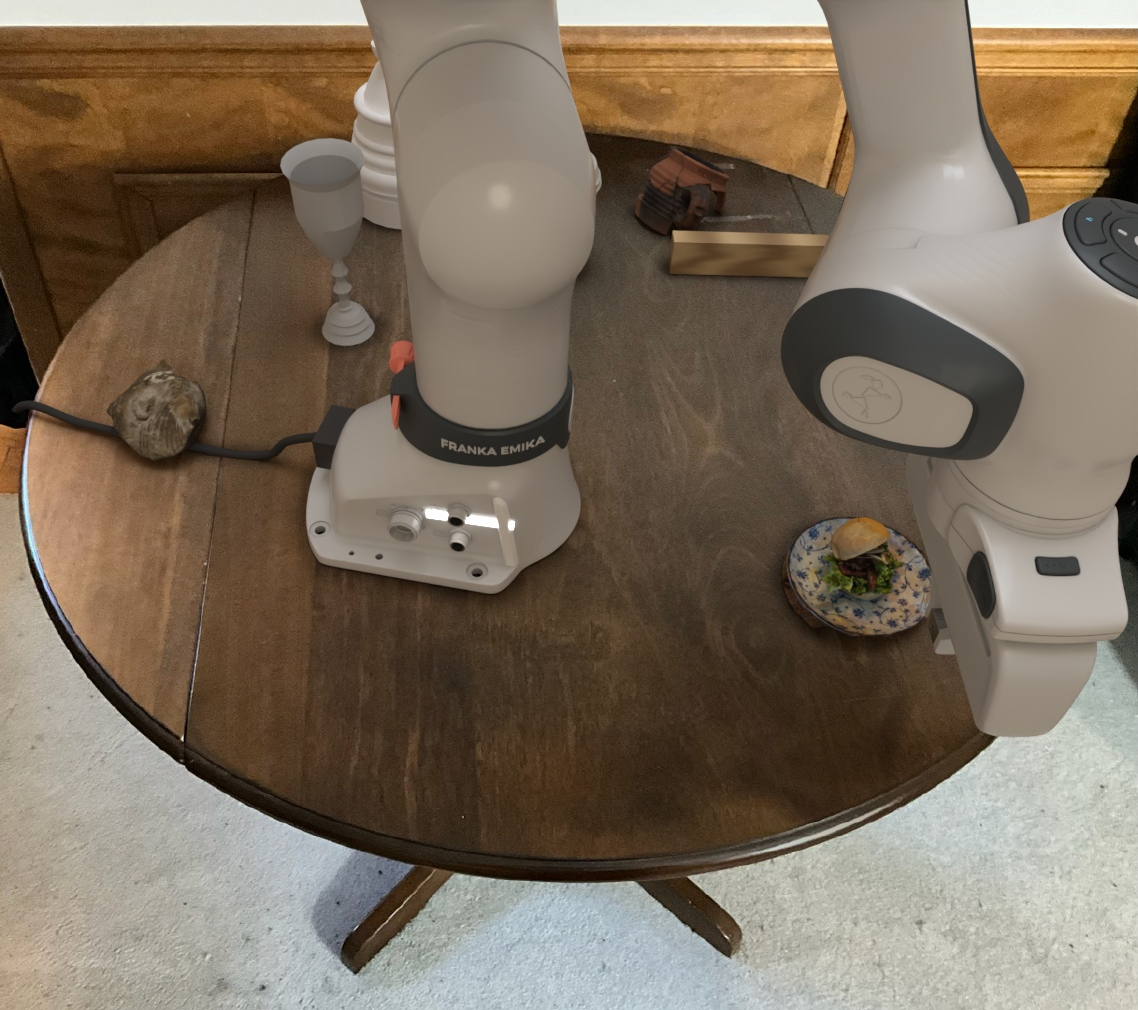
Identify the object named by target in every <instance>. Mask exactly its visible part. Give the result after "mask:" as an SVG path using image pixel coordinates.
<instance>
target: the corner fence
mask: <svg viewBox="0 0 1138 1010" xmlns="http://www.w3.org/2000/svg"><path fill="white" fill-rule="evenodd" d="M829 236H830V234H817V233H816V234H814V233H813V234H812V233H777V232H776V233H775V232H745V231H744V232H742V231H741V232H739V231H738V232H737V231H706V230H703V231H702V230H698V231H697V230H691V231H680V230H672V231H671V238H670V247H669V254H668V262H667V263H668V270H669V275H697V276H698V275H700V276H703V275H704V276H735V277H737V276H739V277H770V278H771V277H772V278H773V277H774V278H775V277H776V278H778V277H779V278H780V277H781V278H809V276H810V274H811V272H812V270H813V268H814V266H815V265H816V263H817V261H818V259H819V257H820V255H821V252H822V250H823V248H824V246H825V244H826V242H827V240H828V238H829Z"/></svg>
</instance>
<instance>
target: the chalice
mask: <svg viewBox="0 0 1138 1010" xmlns="http://www.w3.org/2000/svg"><path fill="white" fill-rule="evenodd" d="M363 163H364V155H363V153H362V151H361V149H360V148H359V147H357V146H356V145H355V144H353V143H351V141H348V140H346V139H341V138H340V139H339V138H332V137H329V138H316V139H312V140H307V141H303V142H302V143H299V144H296V145H294V146H293V147H292V148H290V149H288V151H286V152H285V154H284V155H283V156H282V157H281V160H280V167H279V168H280V169H281V172H282V174H283V176H285V178H286V179H287V180H288V182H289V186H290V192H291V193H290V194H291V198H292V203H293V209H294V213H295V218H296V221H297V222H298V224H299V226H300V227H301V230H302V231H303V232H304V234H305V236H306V238H307V239H309V241H310V242H311V244H312V245H313V246H314V247H315V248H316V249H317V251H318V252H319V253H320V255H321V256H323V257H324V258H326V259H330V260H332V269H331V270H330V275H332V276H333V277H334V279H335V284H334V285H333V286H332V291H333V292H334V293H335V294H337V297H338V301H337V302H335V303H334V304H332V305H331V306H330V308H329V309H328V310H327V312H326V317H325V319H324V323H323V325H322V327H321V333H322V336H323V338H324V339H325V340H326V341H327V342H328V343H331V344H333V345H336V346H341V347H348V346H349V347H350V346H355V345H360V344H362V343H364V342H366V341H367V340H368V339H370V338H371V337H372V336H373V334H374V332H375V328H376V327H375V326H376V325H375V323H374V321H373V319H372V318H371V317H370V315H369V313H368V312H367V311H366V309H365V308H364V307H363V305H361V304H360V303H358V302H356V301H353V300H350V298H349V293H350V292H351V291H352V289H353V288H352V284H350V283H349V282H348V281H347V276H348V274H349V269H348V267H347V266H346V265H345V262H344V258H345V257H347V256H348V255H350V254H351V252H352V251H353V248H354V245H355V242H356V240H357V238H358V235H359V234H360V230H361V226H362V222H363V218H364V217H363V214H364V199H363V191H362V183H361V175H360V171H361V168H362V166H363Z"/></svg>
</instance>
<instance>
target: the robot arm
mask: <svg viewBox="0 0 1138 1010" xmlns="http://www.w3.org/2000/svg"><path fill="white" fill-rule="evenodd" d="M359 1H360V4H361V7H362V10H363V13H364V16H365V19H366V22H367V26H368V28H369V31H370V35H371V38H372V40H373V41H374V44H375V47H376V51H377V54H378V57H379V61H380V64H381V68H382V71H383V75H384V80H385V85H386V90H387V96H388V102H389V110H390V117H391V125H392V134H393V143H394V155H395V167H396V179H397V191H398V202H399V211H400V221H401V229H400V230H401V238H402V248H403V255H404V256H403V257H404V258H403V259H404V268H405V276H406V285H407V286H406V287H407V297H408V305H409V316H410V318H409V319H410V326H411V327H410V328H411V336H412V337H411V339H412V342H410V341H408V340H397V341H395V342H394V343H393V344H392V345H391V347H390V358H389V360H388V367H389V369H390V370H391V371H392V372H393V373H394V375H393V376H392V378H391V381H390V387H389V394H386V395H385V396H383V397H380V398H378V399H375V400H374V401H371V402H369V403H367V404H364V405H362V406H360V407H359V408H357V409H355V408H353V407H347V406H342V405H337V404H331V405H330V407H329V409H328V411H327V412H326V414H325V416H324V418H323V420H322V421H321V423H320V425H319V427H318V429H317V430H316V431H313V432H303V433H297V434H292V435H287V436H286V437H284V438H281V439H280V440H278V441H277V442H276V443H275V445H274V446H273V447H271V448H270V449H264V450H238V449H230V448H226V447H225V448H224V447H219V446H215V445H214V446H213V445H209V444H205V443H200V442H196V441H194V442H193V443H191V445H190V446H188V447H187V448H185V449H184V450H187V451H191V452H195V453H200V454H205V455H210V456H213V457H214V456H215V457H222V458H229V459H237V460H248V461H250V460H251V461H265V460H271V459H274V458H276V457H278V456H279V455H280V454H281V453H282V452H283V451H284V450H285V449H286V448H287V447H290V446H293V445H297V444H305V443H311V445H312V449H313V453H314V459H315V463H316V467H315V469H314V472H313V474H312V478H311V480H310V484H309V488H308V493H307V498H306V499H307V500H306V507H305V525H306V536H307V540H308V544H309V546H310V549H311V552H312V553H313V555H314V557H315V558H316V560H317V561H318V562H319V563H320V564H322V565H326V566H329V567H333V568H334V567H335V568H339V569H344V570H345V569H346V570H351V571H357V572H363V573H368V574H374V575H380V576H384V577H385V576H386V577H392V578H397V579H402V580H408V581H413V582H419V583H425V584H430V585H437V586H442V587H447V588H454V589H459V590H466V591H471V592H476V593H482V594H489V595H492V594H498V593H500V592H502V591H503V590H505V589H506V588H508V586H510V584H511V583H512V582H513V581H514V580H515V579H516V577H517V576H518V575H519V574H520V573H521V571H523V570H524V569H526V568H528V567H529V566H530V565H532V564H534V563H537V562H539V561H540V560H542V559H545V558H546V557H547V556H549V555H551V554H552V553H554V552H555V551H557V549H559V548H560V547H561V546H562V545H563V544H564V543H565V542H566V541H567V540H568V539H569V537H570V536H571V535H572V533H573V531H574V530H575V528H576V526H577V524H578V520H579V519H580V514H581V506H582V501H581V500H582V498H581V492H580V488H579V486H578V483H577V480H576V478H575V476H574V473H573V468H572V464H571V459H570V449H569V440H570V436H571V432H572V429H573V420H574V402H575V387H574V383H573V373H572V369H571V366H570V364H569V352H570V335H571V334H570V333H571V332H570V331H571V314H572V304H573V303H572V302H573V294H574V289H575V285H576V281H577V278H578V276H579V275H580V273H581V272H582V271H583V269H584V267H585V265H586V264H587V262H588V260H589V258H590V255H591V252H592V249H593V246H594V241H595V229H596V213H597V211H596V210H597V195H596V180H595V168H594V163H593V159H592V156H591V153H592V152H591V150H590V147H589V143H588V140H587V137H586V134H585V130H584V127H583V124H582V121H581V117H580V115H579V111H578V109H577V104H576V100H575V97H574V94H573V90H572V87H571V82H570V78H569V74H568V70H567V66H566V62H565V57H564V52H563V47H562V40H561V34H560V33H561V32H560V24H559V13H558V1H557V0H359ZM816 2H817V3H818V5H819V7H820V9H821V10H822V12H823V16H824V18H825V21H826V24H827V28H828V31H829V35H830V36H829V37H830V39H831V44H832V49H833V55H834V58H835V63H836V66H837V71H838V75H839V80H840V84H841V89H842V93H843V98H844V103H845V107H846V111H847V116H848V119H849V124H850V129H851V134H852V137H853V138H852V139H853V144H854V146H853V147H854V154H853V155H854V156H853V163H852V171H851V174H850V179H849V182H848V185H847V187H846V191H845V194H844V196H843V199H842V203H841V205H840V209H839V212H838V215H837V218H836V220H835V223H834V225H833V227H832V229H831V232H830V234H829V235H830V236H829V238H828V240H827V242H826V244H825V246H824V248H823V250H822V252H821V255H820V257H819V259H818V261H817V263H816V265H815V266H814V268H813V270H812V272H811V274H810V276H809V277H807V280H806V282H805V284H804V287H803V288H802V291H801V293H800V295H799V298H798V299H797V302H796V304H795V306H794V308H793V310H792V312H791V315H790V318H789V319H788V321H787V323H786V325H785V327H784V330H783V333H782V336H781V341H780V359H781V365H782V366H781V367H782V369H783V372H784V375H785V378H786V380H787V382H788V384H789V386H790V388H791V390H792V392H793V394H794V395H795V397H796V398H797V400H798V401H799V402H800V403H801V405H802V406H803V407H804V408H805V409H806V410H807V411H808V412H809V414H811V415H812V416H813V417H814V418H815V419H816V420H818V421H819V422H820V423H822V424H823V425H824V426H826V427H828V428H829V429H831V430H832V431H835V432H836V433H839V434H840V435H842V436H845V437H847V438H849V439H852V440H855V441H858V442H861V443H865V444H869V445H872V446H875V447H880V448H882V449H888V450H890V451H891V450H892V451H896V452H902V453H907V455H906V458H905V465H904V466H905V468H904V481H905V485H906V488H907V491H908V495H909V498H910V501H911V505H912V508H913V512H914V517H915V519H916V522H917V523H916V524H917V526H918V529H919V532H920V537H921V540H922V544H923V547H924V550H925V554H926V557H927V561H928V562H929V564H930V568H931V571H932V574H931V591H930V603H929V605H928V607H927V609H926V611H925V621H926V624H927V628H928V631H929V633H930V638H931V642H932V646H933V650H934V653H935V654H937V655H955V657H956V661H957V665H958V669H959V672H960V675H961V679H962V683H963V687H964V690H965V694H966V696H967V700H968V703H969V708H970V711H971V714H972V718H973V722H974V724H975V727H976V728H977V729H978V730H979V731H980V732H982V733H984V734H987V735H989V736H993V737H1001V738H1032V737H1039V736H1043V735H1046V734H1048V733H1050V732H1051V731H1053V729H1054V728H1055V727H1057V725H1059V723H1060V721H1061V720H1062V719H1063V718H1064V716H1065V715H1066V714H1067V712H1069V710H1070V709H1071V707H1072V706H1073V704H1074V703H1075V701H1076V700H1077V698H1078V697H1079V696H1080V694H1081V692H1082V691H1083V689H1084V688H1085V686H1086V685H1087V683H1088V682H1089V679H1090V677H1091V675H1092V674H1093V671H1094V667H1095V664H1096V662H1097V661H1096V660H1097V654H1098V642H1106V641H1113V640H1116V639H1118V638H1119V637H1120V635H1121V634H1123V632H1124V631H1125V629H1126V628H1127V625H1128V621H1129V609H1128V603H1127V599H1126V592H1125V589H1124V582H1123V577H1122V571H1121V563H1120V555H1119V540H1118V538H1119V515H1118V509H1117V507H1116V504H1117V502H1118V500H1119V499H1120V498H1121V496H1122V494H1123V493H1124V491H1125V488H1126V486H1127V485H1128V484H1127V483H1128V482H1129V478H1130V474H1131V469H1132V462H1133V460H1134V459H1135V457H1136V456H1138V203H1134V202H1130V201H1126V200H1122V199H1118V198H1111V197H1088V198H1083V199H1079V200H1076V201H1073V202H1072V203H1070V204H1068V205H1066V206H1065V207H1062V208H1061V209H1059V210H1057V211H1055V212H1053V213H1051V214H1048V215H1046V216H1043V217H1041V218H1038V219H1034V220H1031V213H1030V205H1029V199H1028V196H1027V194H1026V191H1025V188H1024V186H1023V184H1022V181H1021V179H1020V176H1019V175H1018V173H1017V171H1016V169H1015V168H1014V167H1013V164H1012V163H1011V161H1010V160H1009V158H1008V157H1007V155H1006V153H1005V152H1004V151H1003V149H1002V147H1001V145H1000V144H999V142H998V141H997V139H996V137H995V135H994V133H993V131H992V129H991V127H990V124H989V123H988V119H987V117H986V114H985V111H984V107H983V103H982V98H981V92H980V88H979V87H980V86H979V79H978V78H979V77H978V71H977V64H976V56H975V55H976V54H975V46H974V39H973V38H974V37H973V31H972V23H971V14H970V8H969V7H970V5H969V0H816ZM590 152H591V153H590ZM26 410H32V411H37V412H40V413H42V414H45V415H48V416H50V417H52V418H54V419H57V420H58V421H61V422H63V423H66V424H68V425H72V426H73V427H77V428H81V429H85V430H88V431H93V432H97V433H101V434H104V435H109V436H114V437H118V438H121V437H120V436H119V435H118V433H117V432H116V431H115V429H114V425H109V424H104V423H100V422H96V421H92V420H88V419H85V418H80V417H77V416H75V415H71V414H70V413H67V412H64V411H62V410H60V409H58V408H55V407H53V406H50V405H48V404H45V403H43V402H40V401H36V400H23V401H19V402H17V403H16V404H15V405H14V406H13V407H12V408H11V411H12V412H13V413H15V414H16V413H17V414H19V413H22V412H24V411H26ZM319 533H320V534H319ZM474 575H480V576H474Z"/></svg>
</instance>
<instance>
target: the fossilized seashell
mask: <svg viewBox="0 0 1138 1010" xmlns="http://www.w3.org/2000/svg"><path fill="white" fill-rule="evenodd" d="M207 407H208V406H207V399H206V394H205V391H204V389H203V388H202V386H201V385H200V384H199V383H198V382H195V381H191V380H189V379H187V378H186V377H185V376H184V375H182V374H180V373H179V372H178V371H177V370H176V369H175V368H174V366H173V365H172V364H171V363H170V362H169V361H168V360H167V359H166V358H163V359H162V360H161V361H159V363H157V364H155V366H152V367H151V368H149V369H147V370H145V371H144V372H143V373H141V374H140V375H139V376H138V377H137V379H135V381H134V382H133V383H132V384H130V385H129V387H128V388H127V389H126V390H125V391H124V392H122V393H121V394H120V395H118V397H116V399H114V400H113V401H112V402H111V403H110V404H109V405H108V407H107V409H106V413H107V414H108V415H109V417H110V418H111V419H112V422H113V427H114V429H115V431H116V432H117V433H118V435H119V436H120V437H119V438H121V439H122V440H123V441H124V442H125V443H126V444H127V445H128V446H129V447H130V448H131V449H132V450H133V451H134V452H135V453H136V454H137V455H139V456H140V457H141V458H145V459H146V460H150V461H155V462H156V461H158V462H161V461H164V460H168V459H169V460H170V459H172V458H175V457H176V456H178V455H179V454H181V453H182V452H183V451H185V450H186V449H185V448H187V447H188V446H190V445H191V443H193V442H196V440H197V438H198V437H199V435H200V433H201V430H202V429H203V427H204V424H205V422H206V419H207V411H208V409H207Z"/></svg>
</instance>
